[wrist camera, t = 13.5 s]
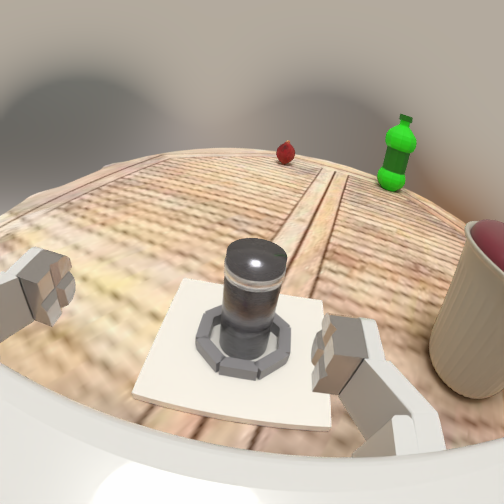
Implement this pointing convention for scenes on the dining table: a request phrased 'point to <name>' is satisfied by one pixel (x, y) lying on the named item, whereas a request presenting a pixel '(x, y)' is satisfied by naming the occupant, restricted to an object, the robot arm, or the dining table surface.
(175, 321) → the mount board
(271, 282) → the lens tube
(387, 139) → the plastic bottle
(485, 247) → the canister
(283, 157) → the onion
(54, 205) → the dining table surface
